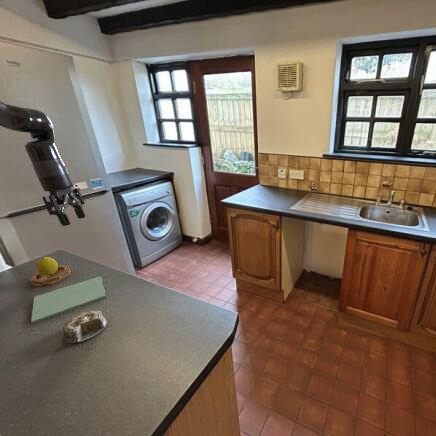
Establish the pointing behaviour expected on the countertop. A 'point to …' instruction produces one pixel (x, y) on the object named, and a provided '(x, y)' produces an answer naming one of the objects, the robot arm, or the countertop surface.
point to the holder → (59, 275)
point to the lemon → (47, 266)
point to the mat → (67, 299)
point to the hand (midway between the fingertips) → (74, 221)
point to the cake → (84, 326)
